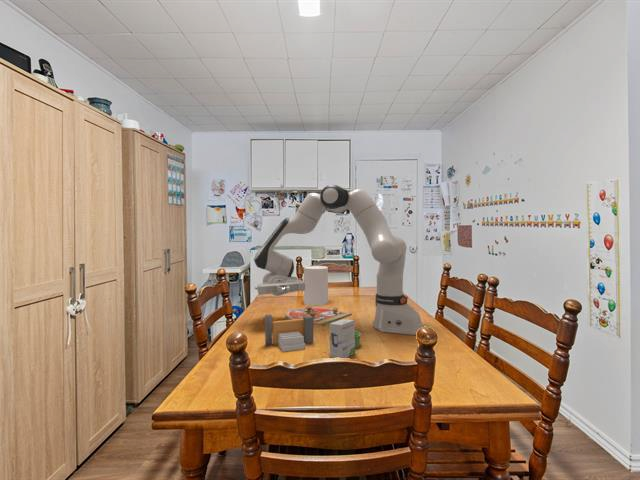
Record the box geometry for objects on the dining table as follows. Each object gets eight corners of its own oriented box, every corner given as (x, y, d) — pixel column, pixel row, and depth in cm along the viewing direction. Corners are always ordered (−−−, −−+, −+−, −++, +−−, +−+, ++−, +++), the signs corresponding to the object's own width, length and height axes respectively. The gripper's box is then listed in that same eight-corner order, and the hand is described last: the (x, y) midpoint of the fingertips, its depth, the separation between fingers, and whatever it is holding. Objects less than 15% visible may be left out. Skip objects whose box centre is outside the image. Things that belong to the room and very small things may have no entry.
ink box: (341, 361, 122) (341, 325, 122) (328, 357, 126) (328, 322, 125) (356, 353, 129) (355, 320, 128) (343, 350, 132) (343, 317, 132)
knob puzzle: (318, 328, 161) (317, 318, 161) (269, 318, 179) (269, 309, 178) (354, 315, 184) (354, 306, 184) (308, 307, 202) (308, 298, 202)
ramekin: (354, 350, 132) (354, 338, 132) (332, 346, 137) (332, 335, 136) (364, 343, 140) (364, 331, 140) (343, 339, 144) (343, 328, 144)
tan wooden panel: (273, 344, 135) (273, 322, 135) (272, 343, 137) (272, 321, 136) (311, 339, 140) (311, 318, 140) (309, 338, 142) (309, 317, 141)
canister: (322, 299, 218) (322, 265, 217) (331, 304, 205) (331, 268, 204) (300, 301, 213) (300, 266, 212) (308, 306, 201) (308, 269, 200)
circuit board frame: (306, 334, 151) (306, 305, 150) (323, 350, 132) (323, 317, 131) (256, 340, 144) (256, 309, 143) (267, 358, 125) (267, 323, 125)
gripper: (253, 280, 161) (259, 284, 148) (299, 276, 168) (308, 280, 155) (254, 294, 161) (260, 300, 148) (299, 290, 168) (309, 295, 155)
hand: (285, 290), depth 151 cm, fingers closed
